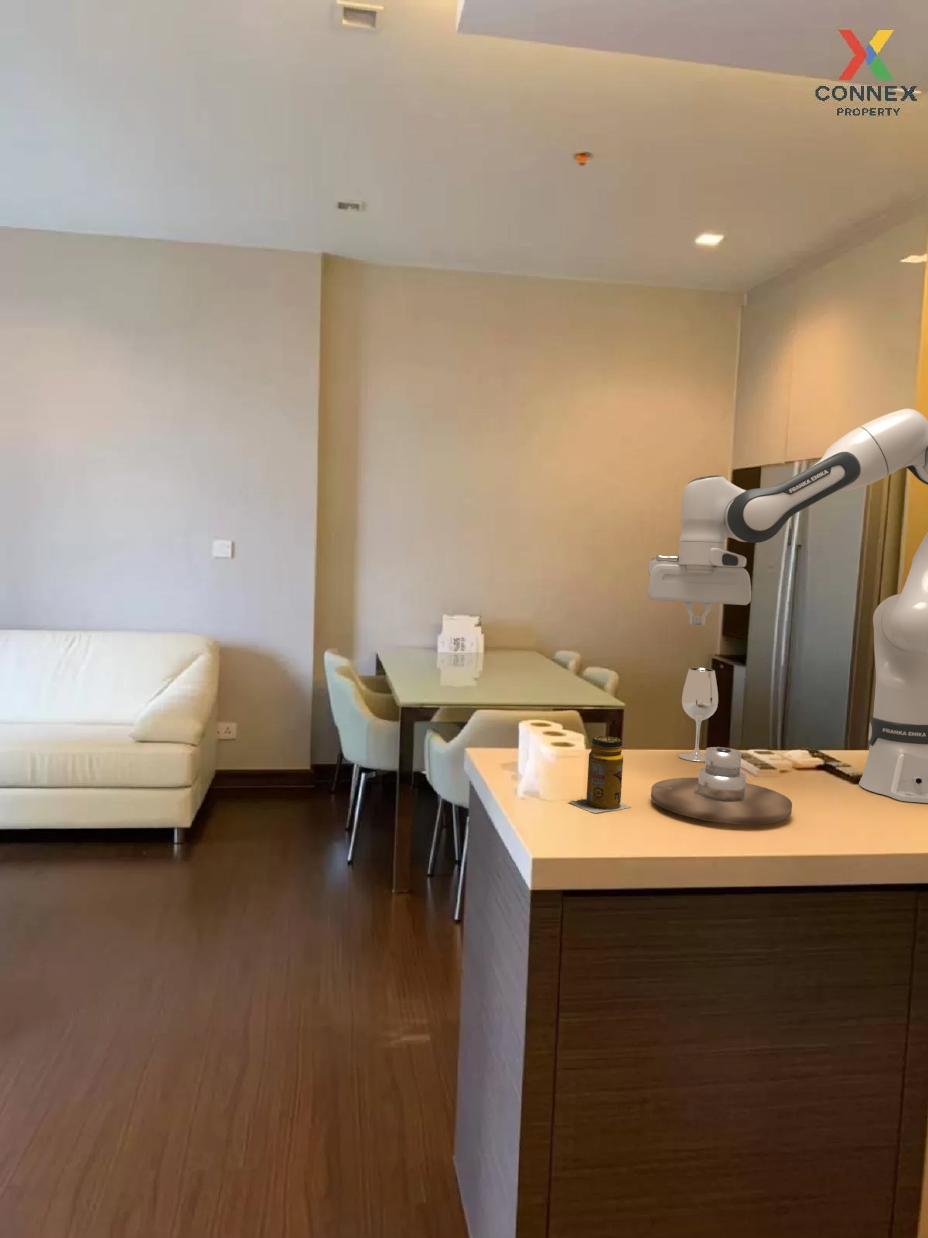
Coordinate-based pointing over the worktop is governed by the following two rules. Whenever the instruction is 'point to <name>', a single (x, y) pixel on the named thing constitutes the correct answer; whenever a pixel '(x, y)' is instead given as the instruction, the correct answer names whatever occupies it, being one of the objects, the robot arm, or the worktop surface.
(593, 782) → the condiment
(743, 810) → the disc
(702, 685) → the wineglass
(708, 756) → the stacked silver spool
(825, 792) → the worktop surface
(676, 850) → the worktop surface
